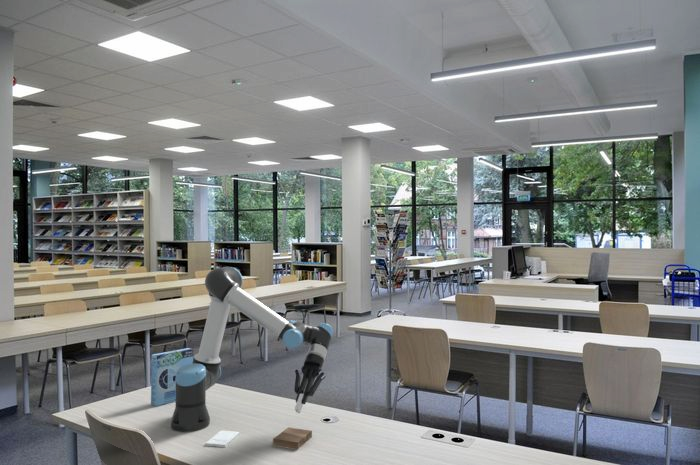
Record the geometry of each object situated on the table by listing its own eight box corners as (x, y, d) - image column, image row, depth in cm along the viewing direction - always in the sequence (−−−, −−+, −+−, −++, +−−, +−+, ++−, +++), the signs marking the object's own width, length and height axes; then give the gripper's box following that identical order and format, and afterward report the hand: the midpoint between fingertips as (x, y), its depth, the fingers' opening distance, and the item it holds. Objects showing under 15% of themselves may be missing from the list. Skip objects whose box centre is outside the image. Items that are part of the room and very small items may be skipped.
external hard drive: (239, 436, 191) (225, 449, 179) (219, 434, 193) (204, 447, 180) (239, 431, 191) (225, 444, 179) (220, 430, 193) (204, 442, 181)
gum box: (156, 407, 223) (156, 356, 224) (150, 404, 226) (150, 354, 227) (193, 396, 238) (194, 349, 239) (187, 394, 241) (187, 347, 242)
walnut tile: (311, 438, 188) (297, 450, 177) (288, 435, 192) (273, 446, 181) (311, 430, 188) (297, 442, 177) (288, 427, 192) (273, 438, 181)
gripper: (332, 364, 204) (315, 417, 188) (304, 361, 209) (285, 413, 193) (327, 353, 200) (310, 408, 183) (298, 351, 204) (278, 404, 188)
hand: (297, 411), depth 188 cm, fingers closed
